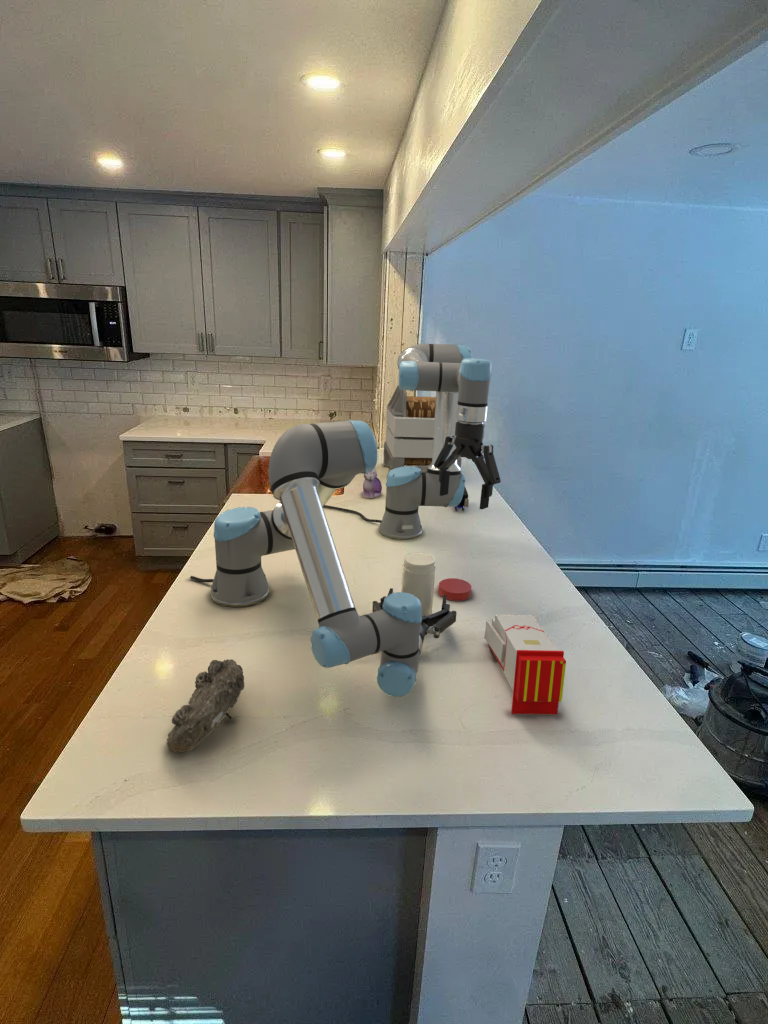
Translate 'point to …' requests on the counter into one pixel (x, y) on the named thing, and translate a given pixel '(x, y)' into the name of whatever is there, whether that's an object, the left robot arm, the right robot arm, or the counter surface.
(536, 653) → the toy
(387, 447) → the grey slatted crate
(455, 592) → the lid
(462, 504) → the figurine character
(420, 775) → the counter surface
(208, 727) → the fossil
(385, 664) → the left robot arm
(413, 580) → the jar
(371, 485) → the figurine
